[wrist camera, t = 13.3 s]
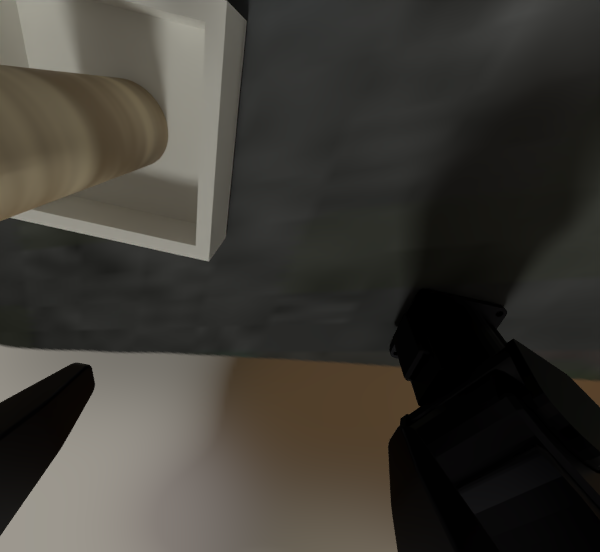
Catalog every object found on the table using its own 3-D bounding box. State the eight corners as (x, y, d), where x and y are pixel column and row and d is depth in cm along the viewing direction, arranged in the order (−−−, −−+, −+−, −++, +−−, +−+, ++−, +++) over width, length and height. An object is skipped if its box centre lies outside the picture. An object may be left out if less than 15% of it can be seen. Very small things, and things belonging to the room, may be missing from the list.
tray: (246, 20, 15) (226, 0, 12) (225, 237, 21) (208, 261, 18) (0, -44, 14) (-88, -83, 11) (50, 198, 20) (2, 215, 17)
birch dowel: (142, 65, 15) (-344, -29, 4) (181, 154, 17) (-73, 253, 6) (71, 93, 16) (-494, 77, 5) (116, 175, 18) (-211, 295, 7)
